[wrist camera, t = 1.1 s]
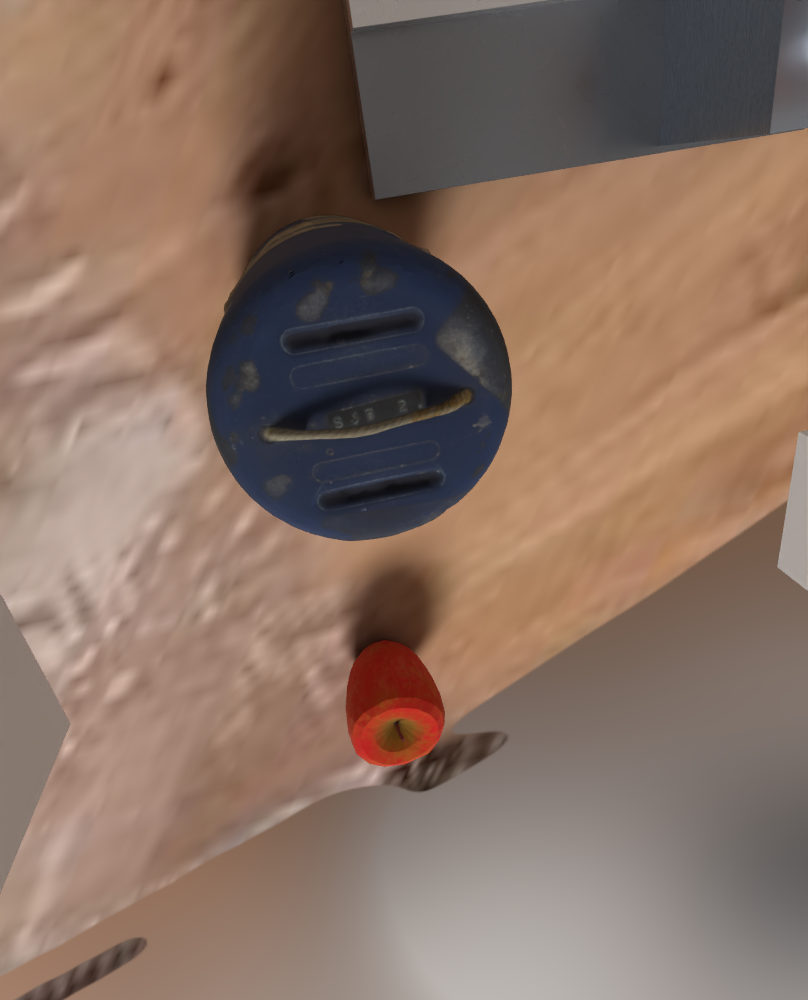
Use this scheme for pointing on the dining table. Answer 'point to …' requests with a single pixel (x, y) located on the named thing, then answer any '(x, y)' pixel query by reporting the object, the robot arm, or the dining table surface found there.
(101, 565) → the dining table surface
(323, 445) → the canister
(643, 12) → the grey l-shaped stand
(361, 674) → the apple
